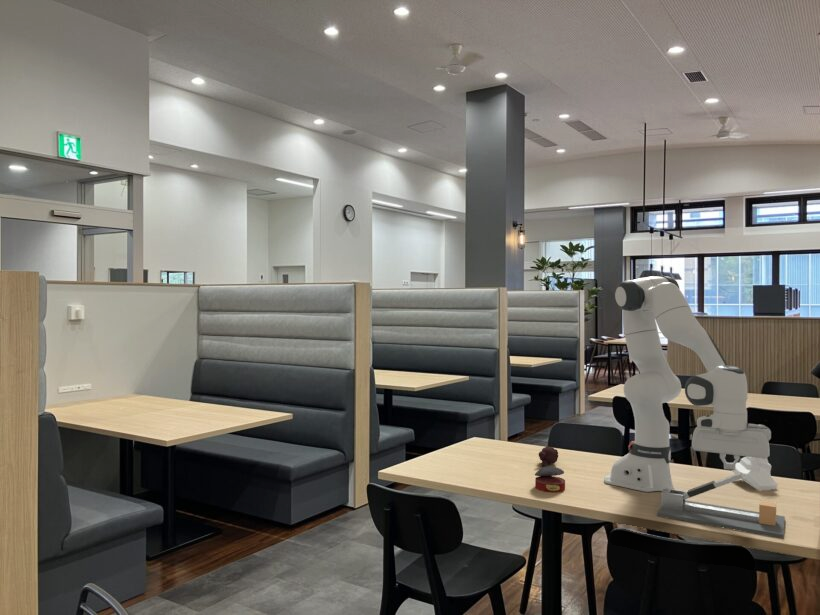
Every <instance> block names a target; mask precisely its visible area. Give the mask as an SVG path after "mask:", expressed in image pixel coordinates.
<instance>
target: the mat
mask: <svg viewBox="0 0 820 615" xmlns="http://www.w3.org/2000/svg"><path fill="white" fill-rule="evenodd" d="M685 502H687V503H693V504H700V505H706V506H712V507H718V508H724V509H730V510H736V511H742V512H749V513H755V514H759V511H753V510H747V509H741V508H737V507H736V508H734V507H729V506H725V505H723V506H722V505H717V504H711V503H704V502H698V501H692V500H687V499H685ZM656 516H657V517H660V516H662V517H661V518H665V517H668V518H667V519H671V518H673V519H672V520H676V519H678V521H682V520H684V521H683V522H688V521H689V523H694V524H699V525H700V524H701V525H705V526H710V525H712V527H716V526H718V528H722V527H724V528H723V529H727V528H729V530H733V529H735V530H734V531H738V530H741V531H740V532H744V531H746V532H745V533H750V534H757V535H763V536H767V537H768V536H769V537H773V538H778V539H779V538H780V539H784V534H785V532H784V531H785V530H784V529H785V519H786V517H785V516H784V515H779V514H776V525H775V526H773V525H767V524H761V523H759V522H753V521H747V520H741V519H735V518H730V517H724V516H718V515H712V514H706V513H700V512H694V511H688V510H683V511H681V510H675V509H669V508H663V507H661V506H660V508H659V509H658V511H657V512H656Z"/></svg>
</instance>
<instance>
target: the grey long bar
mask: <svg viewBox="0 0 820 615" xmlns="http://www.w3.org/2000/svg"><path fill="white" fill-rule="evenodd" d="M686 492H687V491H685V490H679V489H675V488H673V489H668V488H664V490H663V491H660V494H661V498H660V499H661V500H660V508H661V507H663V508H669V509H675V510H681V511H683V510H688V511H694V512H700V513H706V514H712V515H718V516H724V517H730V518H735V519H741V520H747V521H753V522H759V514H755V513H749V512H742V511H736V510H730V509H724V508H718V507H712V506H706V505H700V504H693V503H687V502H685V500H686V499H685V500H683V495H681V494H684V493H686ZM775 525H776V524H775Z"/></svg>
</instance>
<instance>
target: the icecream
mask: <svg viewBox="0 0 820 615" xmlns="http://www.w3.org/2000/svg"><path fill="white" fill-rule="evenodd" d="M538 457H539V460H540V461H541V467H542V468H543V467H547V466H548V465H552V464H555V463H556V462H558V458H559V451H558V449H555V448H554V447H552V446H549V445H546V446H545V447H543V448H542V449H541V451H539V452H538Z"/></svg>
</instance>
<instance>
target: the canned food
mask: <svg viewBox="0 0 820 615" xmlns="http://www.w3.org/2000/svg"><path fill="white" fill-rule="evenodd" d="M563 474H565V471H564V469H561V468H559V467H557V466H551V465H550V466H545V467H542V468H539V470H537V471H536V472H535V473H534V476H536V477H535V480H534V482H535V484H534V486H535V489H536V490H538V491H540V492H541V491H542V492H545V493H562V492H564V491H565V490H566V480H565V479H564V478H562V477H560V476H561V475H563Z"/></svg>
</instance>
